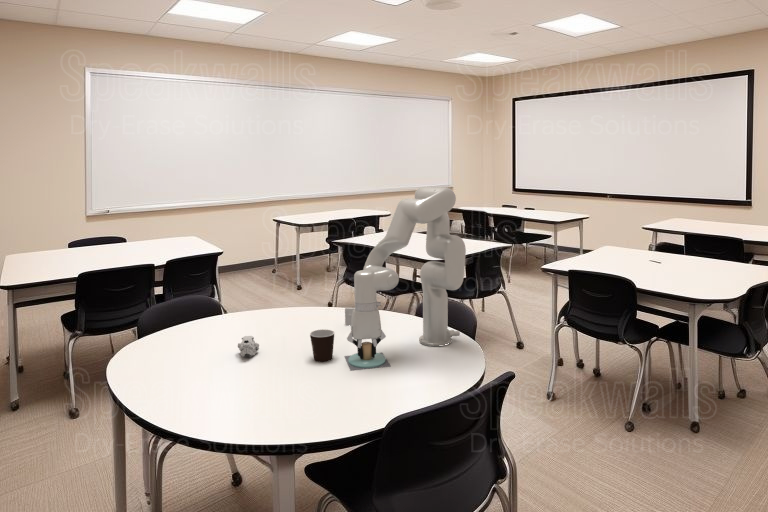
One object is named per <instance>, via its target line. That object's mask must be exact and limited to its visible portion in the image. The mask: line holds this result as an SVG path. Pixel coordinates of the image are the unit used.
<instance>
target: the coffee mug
mask: <svg viewBox="0 0 768 512" xmlns="http://www.w3.org/2000/svg"><path fill="white" fill-rule="evenodd" d="M309 337H310V343H311V349H312V356H313V360H314V361H315V362H316V363H317V362H318V363H326V362H330V361H331V360H332V359H333V353H334V342H335V331H334V330H332V329H326V328H325V329H317V330H313V331H311V332H309Z"/></svg>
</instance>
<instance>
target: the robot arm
mask: <svg viewBox="0 0 768 512" xmlns="http://www.w3.org/2000/svg"><path fill="white" fill-rule="evenodd" d="M456 196H457V195H456V193H455V191H454V190H452V189H451V188H448V187H444V186H442V187H440V186H422V187H418V188H417V189H416V190H415V192H414V198H404V199H402V200H400V201H399V202H398V204H397V206H396V208H395V210H394V213H393V215H392V216H393V217H392V219H391V221H390V223H389V226H388V229H387V231H386V234H385V236H384V237H383V238H382V239H380V241H379V242H378V243H377V244H376V245H375V246H374V247H373V248H372V250H371V251H370V252H369V254H368V256H367V258H366V261H365V263H364V266H363V269H362V270H357V271H356V272H355V273H354V275H353V281H354V283H353V287H354V289H353V290H354V308H355V309H354V310H353V311H352V319H351V326H350V332H349V334H348V336H347V337H346V340H347V341H348V342H350V343H352V344H353V345H354V346H356V348H357V353H358V356H359V357H360V359H363V348H362V345H361V343H362V342H363V340H371V343H372V358H375V354H376V353H377V346H378V344H379V343H380V342H381V341H382V340H384V339H386V337H387V336H386V333H385V332H384V331H383V329H382V323H381V315H380V311H379V308H378V307H380V306H382V303H381V301H377V296H378V295H377V291H390V290H393V289H394V288H396V287H397V286H398V284H399V282H400V278H399V274H398V273H397V272H396V270H394V269H393V268H392V269H391V268H388V267H385V266H383V265H384V263H385V261H386V260H387V259H388V258H389V256H391V254H393V253H395V252H397V251H399V250H402V249H404V248H405V247H407V246H408V245H409V243H410V240H411V238H412V234H413V232H414V230H415V226H416V225H417V224H421V225H422V224H426V238H425V251H426V254H427V255H428V256H429V257H431V258H434V259H439V260H444V262H442V261H437V260H436V261H435V260H431V261H427V262H425V263H424V264H423V265H422V266H421V269H420V273H419V275H420V277H419V278H420V283H421V288H422V335H421V336H420V337H418V342H419V343H420V344H421V343H422V345H423V344H424V346H427V345H430V346H429V347H440V346H439V345H445V344H448V343H450V342H451V340H453V339H452V337H460V335H461V333H460V330H454V329H451V330H449V329H448V327H449V326H448V322H449V321H448V320H449V319H448V314H449V313H448V312H449V309H448V308H449V307H448V306H449V305H448V303H449V301H448V300H449V298H448V297H449V296H448V291H456V290H458V289H460V288H461V286H462V285H463V282H464V277H465V269H466V268H465V267H466V252H467V251H466V250H467V248H466V244H465V241H464V240H463V238H461V237H460V236H459V235H457V234H456V235H455V234H450V224H451V223H450V221H451V220H450V216H449V213H448V212H450V211H451V210H452V209H453V208H454V206H455V204H456V202H457V201H456V200H457V197H456ZM447 290H448V291H447ZM451 343H452V342H451ZM451 343H450V344H451ZM448 345H449V344H448ZM445 346H446V345H445Z"/></svg>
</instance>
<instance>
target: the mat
mask: <svg viewBox="0 0 768 512" xmlns="http://www.w3.org/2000/svg"><path fill="white" fill-rule="evenodd" d="M379 353H380V354H382V355H384V352H379ZM350 356H351V355H344V359H345V361H346V364H347V366H348V368H349V371H350V372H351V371H362V370H370V369H371V370H372V369H380V368H381V369H382V368H391V367H392V366H391V364H390V363H389V361H388V359H387V358H386V362H385V363H384V364H383V365H381V366H378V367H374V368H357V367H354V366H351V365H350V364H349V362H348V358H349V357H350Z"/></svg>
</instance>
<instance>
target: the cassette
mask: <svg viewBox="0 0 768 512" xmlns="http://www.w3.org/2000/svg"><path fill="white" fill-rule="evenodd" d="M354 309H355V307H345V308H344V321H345V322H344V323H345V324H344V325H345V326H348V327H351V319H352V311H353V310H354ZM349 325H350V326H349Z"/></svg>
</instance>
